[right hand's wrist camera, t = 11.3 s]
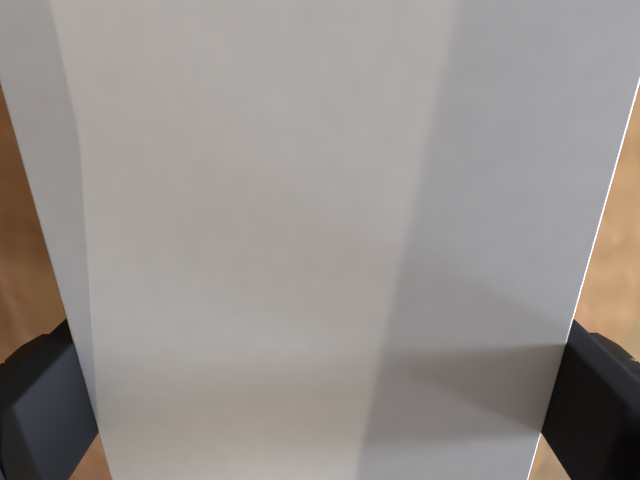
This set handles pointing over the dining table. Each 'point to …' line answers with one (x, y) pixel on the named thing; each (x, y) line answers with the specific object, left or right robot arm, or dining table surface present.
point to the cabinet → (319, 221)
